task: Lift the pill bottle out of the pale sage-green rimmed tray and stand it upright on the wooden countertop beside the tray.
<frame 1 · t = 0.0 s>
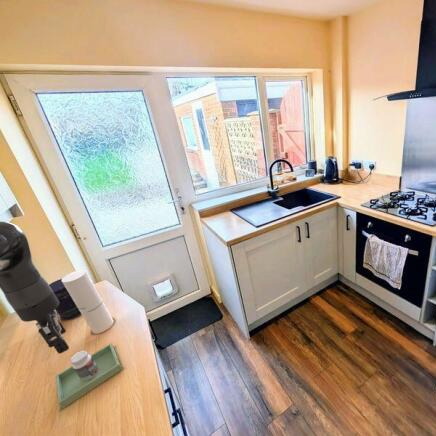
hand: (62, 341, 69), 18 cm above the countertop, tool pointing down, fingers open, 8 cm apart
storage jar: (75, 311, 108), on the countertop
cylindrical container: (103, 326, 98), on the countertop
tray: (91, 375, 79), on the countertop
pill bottle: (90, 374, 79), resting on tray
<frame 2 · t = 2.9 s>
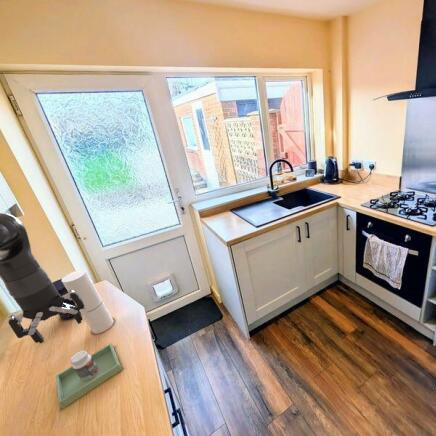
hand: (61, 331, 71), 20 cm above the countertop, tool pointing down, fingers open, 8 cm apart
nothing on the countertop moved.
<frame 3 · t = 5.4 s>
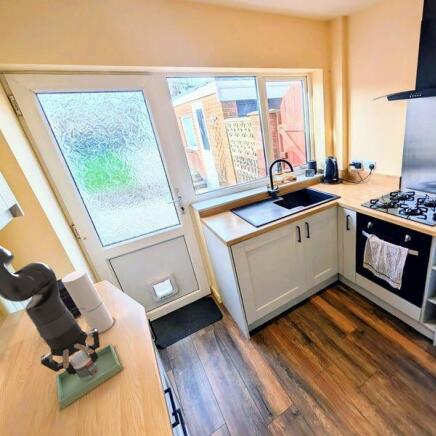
hand: (84, 366, 77), 4 cm above the countertop, tool pointing down, fingers closed on pill bottle, 4 cm apart
pill bottle: (90, 374, 79), resting on tray, touching gripper
everything else where it was.
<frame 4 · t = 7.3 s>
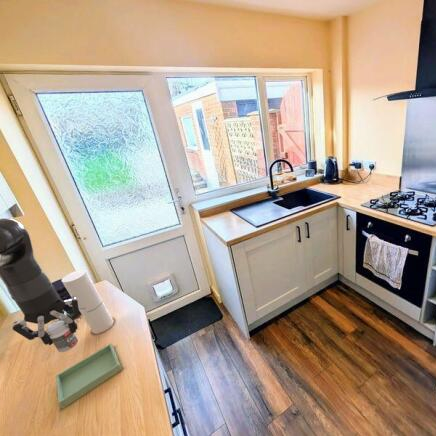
hand: (62, 336, 72), 17 cm above the countertop, tool pointing down, fingers closed on pill bottle, 4 cm apart
pill bottle: (69, 346, 74), point 13 cm above the countertop, touching gripper
everything else where it was.
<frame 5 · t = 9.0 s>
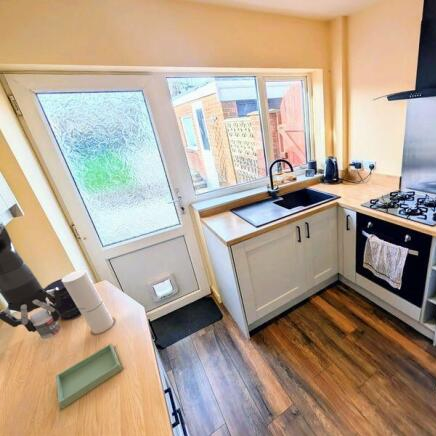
hand: (46, 324, 77), 18 cm above the countertop, tool pointing down, fingers closed on pill bottle, 4 cm apart
pill bottle: (52, 333, 79), point 14 cm above the countertop, touching gripper
everything else where it was.
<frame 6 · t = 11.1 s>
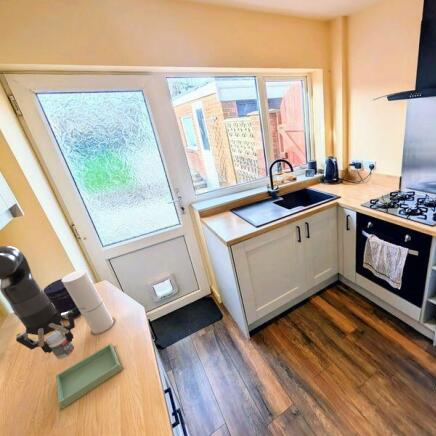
hand: (60, 345, 82), 8 cm above the countertop, tool pointing down, fingers closed on pill bottle, 4 cm apart
pill bottle: (66, 353, 83), point 4 cm above the countertop, touching gripper
everything else where it was.
when the fingers open (4 cm above the countertop, at t = 12.5 s): pill bottle stays where it is, on the countertop.
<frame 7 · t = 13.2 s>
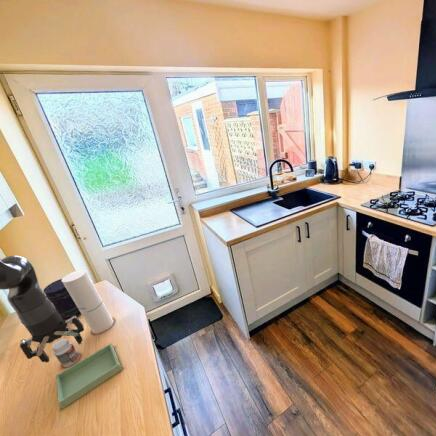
hand: (64, 351, 83), 5 cm above the countertop, tool pointing down, fingers open, 8 cm apart
pill bottle: (71, 361, 85), on the countertop
everything else where it was.
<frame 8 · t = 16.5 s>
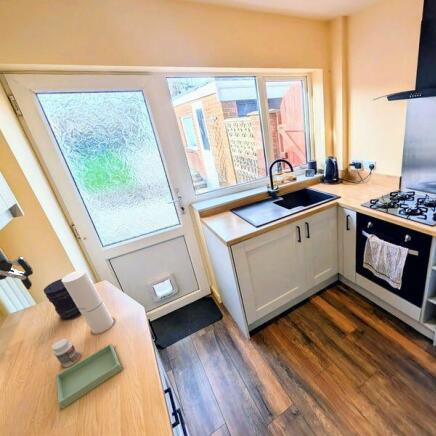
hand: (10, 295, 76), 28 cm above the countertop, tool pointing down, fingers open, 8 cm apart
nothing on the countertop moved.
at the end: pill bottle inside the target area (0.2 cm from its centre), on the countertop; pill bottle tilted 0°; the gripper is holding nothing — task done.
